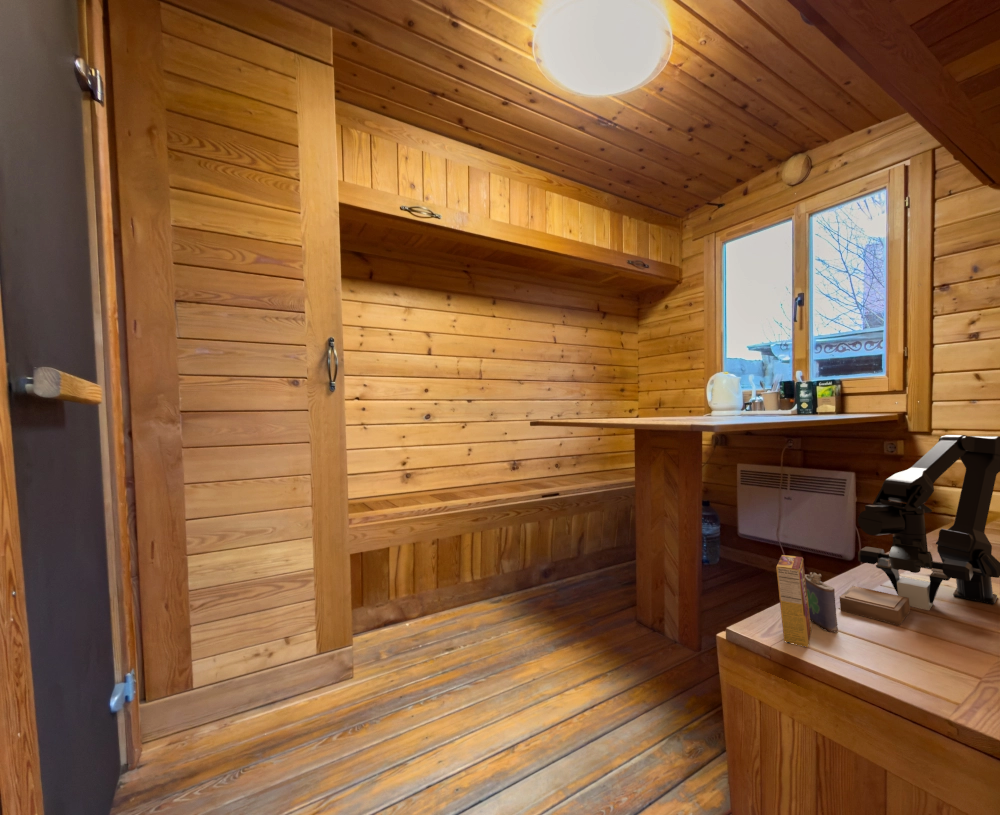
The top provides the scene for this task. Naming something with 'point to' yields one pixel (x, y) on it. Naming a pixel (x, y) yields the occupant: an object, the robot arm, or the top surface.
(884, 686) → the top surface
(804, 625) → the candy box
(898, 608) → the walnut plinth
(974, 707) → the top surface
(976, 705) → the top surface
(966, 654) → the top surface
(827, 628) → the flask
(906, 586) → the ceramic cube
